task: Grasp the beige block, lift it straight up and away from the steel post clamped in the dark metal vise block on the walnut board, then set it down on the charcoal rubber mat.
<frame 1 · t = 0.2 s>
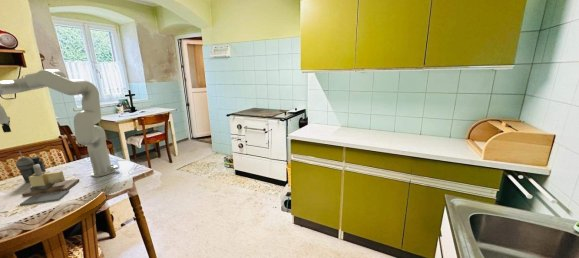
hand: (0, 134, 133), 31 cm above the table, fingers open, 9 cm apart
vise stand: (52, 188, 134), on the table
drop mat: (45, 198, 123), on the table
beverage cup: (31, 181, 143), on the table
beige block: (42, 183, 132), point 4 cm above the table, touching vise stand
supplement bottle: (39, 175, 152), on the table
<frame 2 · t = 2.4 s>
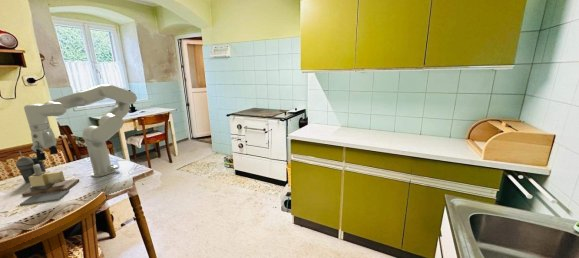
hand: (48, 156, 129), 19 cm above the table, fingers open, 9 cm apart
nothing on the table moved.
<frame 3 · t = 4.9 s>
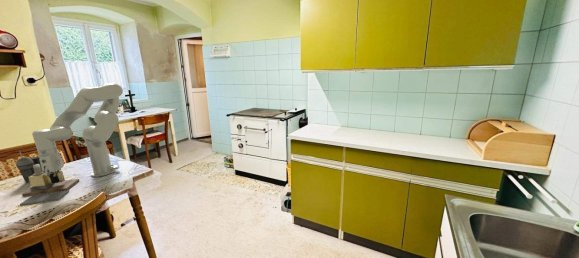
hand: (57, 181, 133), 4 cm above the table, fingers closed on beige block
beige block: (42, 183, 132), point 4 cm above the table, touching gripper
everything else where it was.
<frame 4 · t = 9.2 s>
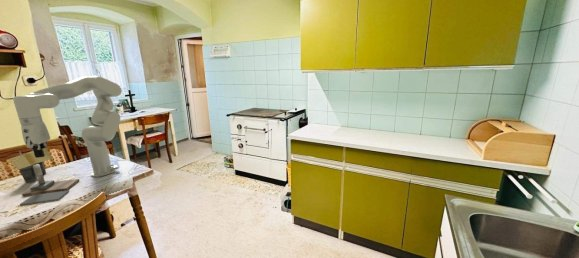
hand: (41, 155, 118), 23 cm above the table, fingers closed on beige block
beige block: (28, 165, 118), point 19 cm above the table, tilted 14°, touching gripper
everything else where it was.
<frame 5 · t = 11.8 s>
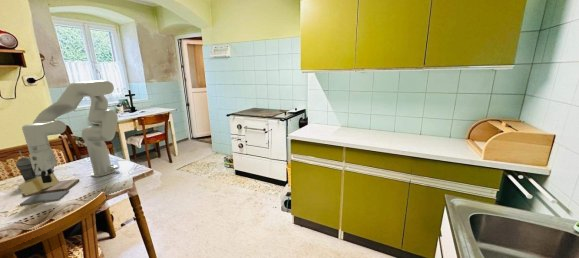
hand: (49, 181, 121), 10 cm above the table, fingers closed on beige block
beige block: (36, 190, 121), point 5 cm above the table, tilted 14°, touching gripper
everything else where it was.
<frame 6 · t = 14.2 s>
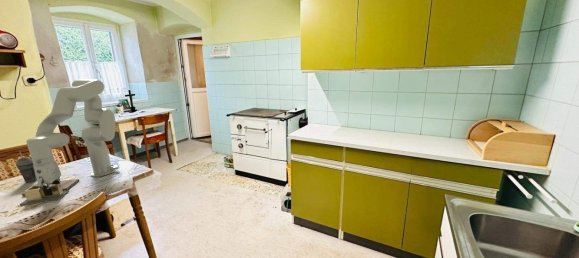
hand: (53, 191, 123), 3 cm above the table, fingers open, 6 cm apart
beige block: (39, 197, 122), point 1 cm above the table, touching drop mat
everything else where it was.
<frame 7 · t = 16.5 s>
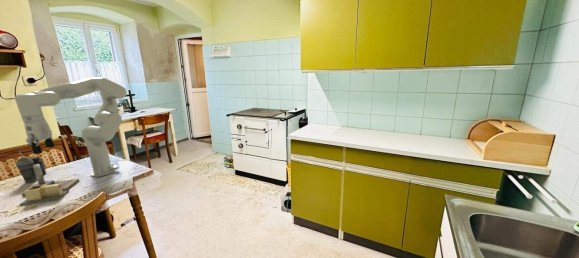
hand: (44, 150, 122), 25 cm above the table, fingers open, 9 cm apart
nothing on the table moved.
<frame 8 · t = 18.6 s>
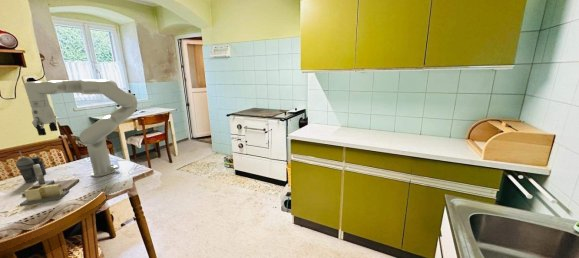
hand: (48, 132, 136), 30 cm above the table, fingers open, 9 cm apart
nothing on the table moved.
at the end: beige block inside the target area on the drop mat (1.8 cm from its centre), point 0.8 cm above the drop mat's base; beige block tilted 0°; beige block touching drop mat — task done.
